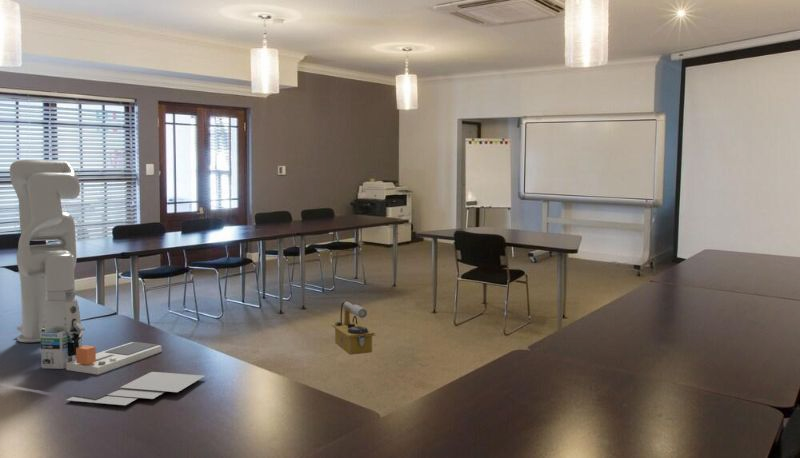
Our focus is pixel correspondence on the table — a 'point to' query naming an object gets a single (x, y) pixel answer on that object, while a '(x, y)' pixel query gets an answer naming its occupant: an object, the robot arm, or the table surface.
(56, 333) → the light bulb box
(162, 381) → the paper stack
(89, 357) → the handle
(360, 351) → the geiger counter
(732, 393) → the table surface
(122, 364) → the panel
